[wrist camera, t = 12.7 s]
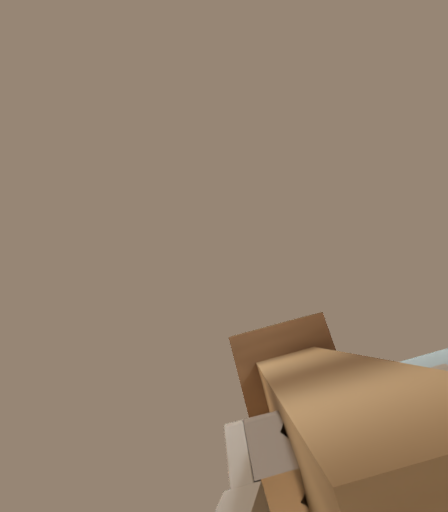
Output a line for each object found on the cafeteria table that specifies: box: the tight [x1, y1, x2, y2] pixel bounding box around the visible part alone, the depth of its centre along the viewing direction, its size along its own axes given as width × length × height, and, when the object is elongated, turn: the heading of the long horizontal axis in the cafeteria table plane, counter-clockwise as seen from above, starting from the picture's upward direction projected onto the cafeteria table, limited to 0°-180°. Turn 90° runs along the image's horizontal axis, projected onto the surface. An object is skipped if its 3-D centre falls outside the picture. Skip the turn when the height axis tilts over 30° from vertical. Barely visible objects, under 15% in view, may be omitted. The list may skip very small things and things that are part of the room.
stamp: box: [229, 312, 448, 512], centre depth 10 cm, size 16×5×4 cm, turn 177°
